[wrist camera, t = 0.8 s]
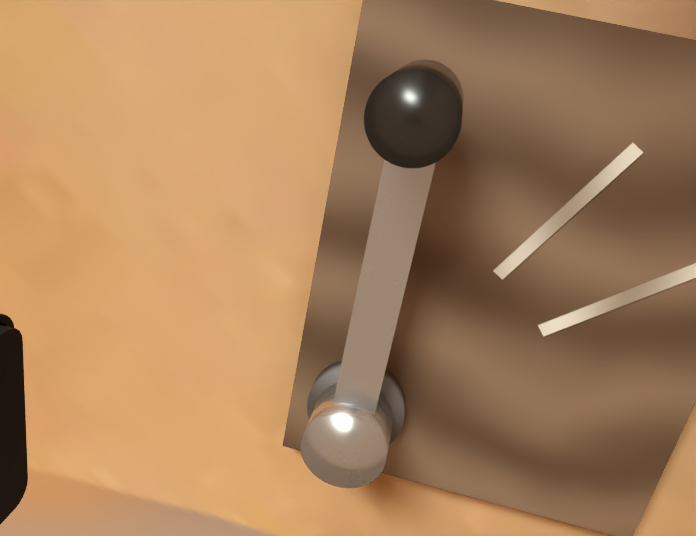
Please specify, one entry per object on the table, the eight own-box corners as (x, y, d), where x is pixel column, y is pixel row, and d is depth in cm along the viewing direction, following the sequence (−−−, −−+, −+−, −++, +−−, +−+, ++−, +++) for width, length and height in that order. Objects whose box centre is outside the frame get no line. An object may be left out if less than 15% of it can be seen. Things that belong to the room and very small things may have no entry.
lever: (386, 47, 26) (358, 56, 19) (485, 67, 26) (489, 83, 19) (309, 437, 33) (269, 540, 27) (384, 457, 33) (362, 567, 26)
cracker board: (372, -23, 28) (363, -27, 25) (830, 68, 26) (865, 73, 24) (289, 429, 37) (277, 457, 35) (624, 519, 35) (635, 555, 33)
